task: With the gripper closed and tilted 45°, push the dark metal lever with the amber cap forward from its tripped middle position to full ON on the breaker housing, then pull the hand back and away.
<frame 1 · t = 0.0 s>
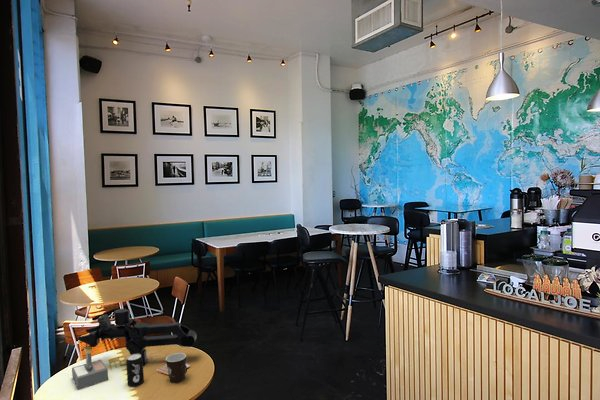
hand: (81, 334, 192), 17 cm above the table, tool horizontal, fingers open, 9 cm apart
beverage can: (136, 383, 177), on the table
breaker lever: (88, 357, 182), point 10 cm above the table, hinge at 0.0°
breaker housing: (90, 379, 182), on the table
coffee mug: (177, 381, 178), on the table
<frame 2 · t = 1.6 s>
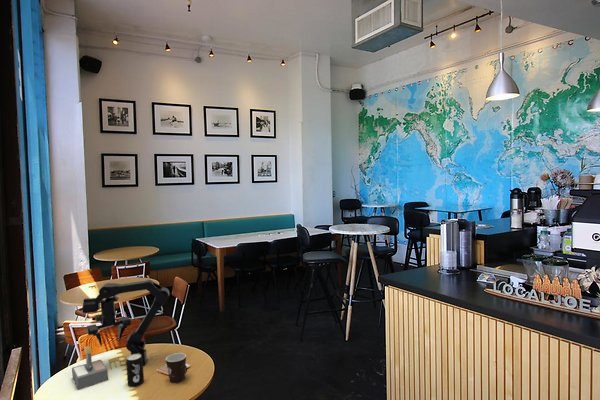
hand: (110, 343, 192), 12 cm above the table, tool pointing down, fingers open, 8 cm apart
nothing on the table moved.
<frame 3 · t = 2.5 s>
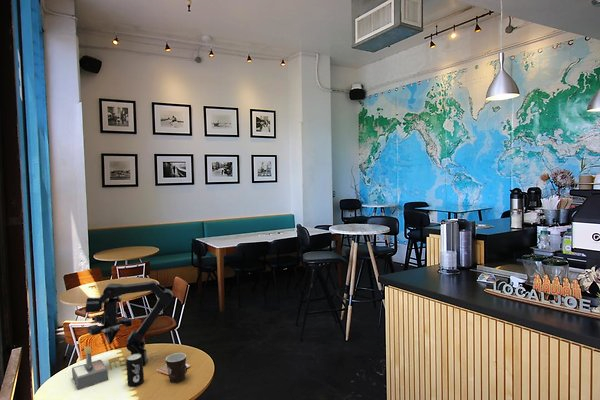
hand: (110, 344, 191), 12 cm above the table, tool pointing down, fingers closed
nothing on the table moved.
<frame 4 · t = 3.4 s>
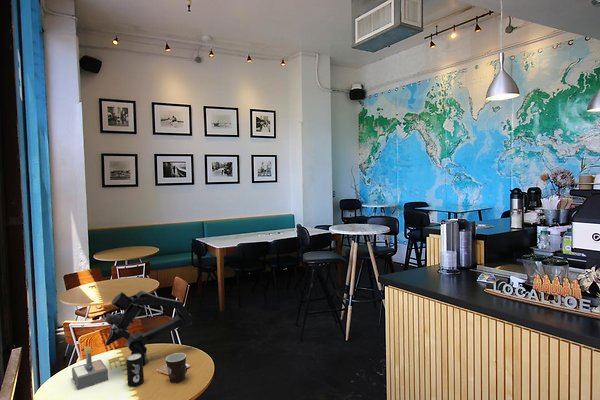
hand: (106, 345, 186), 13 cm above the table, tool tilted 45°, fingers closed
nothing on the table moved.
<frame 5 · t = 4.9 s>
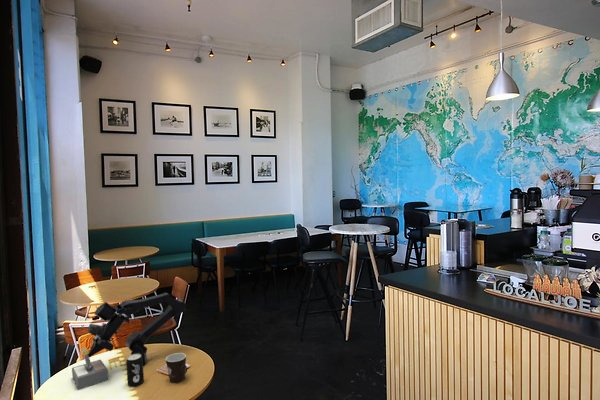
hand: (88, 356, 181), 11 cm above the table, tool tilted 45°, fingers closed, pressing on breaker lever
breaker lever: (86, 358, 181), point 10 cm above the table, hinge at 11.1°, touching gripper
everything else where it was.
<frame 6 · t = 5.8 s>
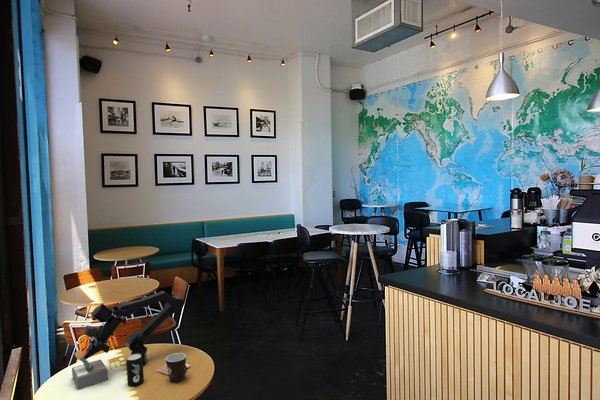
hand: (84, 358, 181), 10 cm above the table, tool tilted 45°, fingers closed, pressing on breaker lever
breaker lever: (84, 360, 180), point 9 cm above the table, hinge at 31.0°, touching gripper
everything else where it was.
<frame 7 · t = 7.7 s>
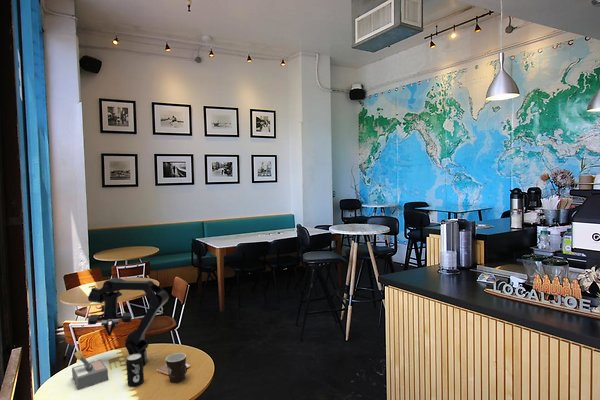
hand: (109, 335, 197), 14 cm above the table, tool pointing down, fingers closed
breaker lever: (84, 360, 180), point 9 cm above the table, hinge at 31.2°
everything else where it was.
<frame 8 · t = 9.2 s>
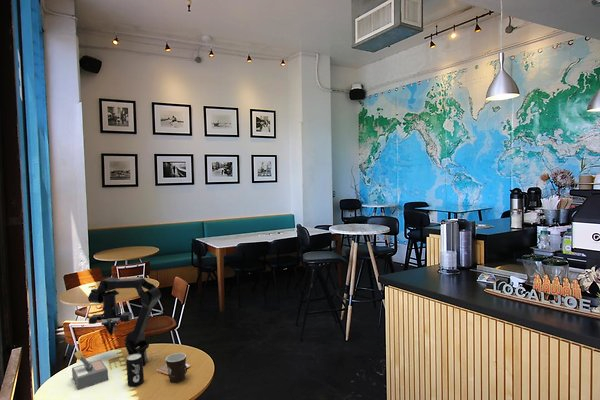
hand: (111, 334, 199), 13 cm above the table, tool pointing down, fingers closed
nothing on the table moved.
at the end: breaker lever at +31° (first picture: +0°); the gripper is holding nothing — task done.
